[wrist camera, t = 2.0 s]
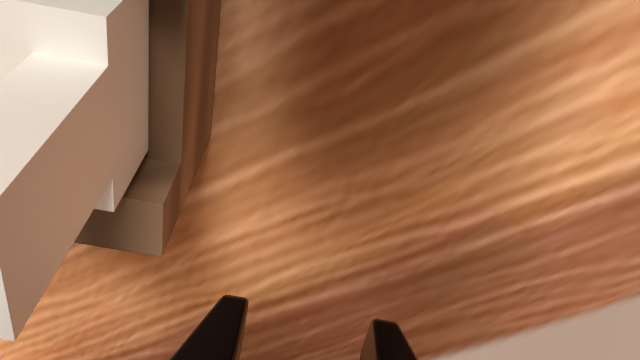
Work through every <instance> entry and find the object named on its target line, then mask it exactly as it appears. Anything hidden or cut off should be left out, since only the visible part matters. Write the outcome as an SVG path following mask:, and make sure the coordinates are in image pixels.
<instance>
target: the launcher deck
mask: <svg viewBox="0 0 640 360" xmlns="http://www.w3.org/2000/svg"><path fill="white" fill-rule="evenodd" d="M220 7H221V0H149V91H148V151H147V153H146V154H145V156H144V158H143V160H142V162H141V164H140V165H139V167H138V169H137V171H136V173H135V175H134V176H133V178H132V180H131V182H130V184H129V186H128V187H127V189H126V191H125V193H124V195H123V196H122V198H121V200H120V202H119V204H118V206H117V207H116V209H115V211H114V212H110V211H104V210H98V209H94V210H93V211H92V213H91V215H90V216H89V218H88V220H87V221H86V223H85V225H84V226H83V228H82V230H81V231H80V233H79V235H78V236H77V238H76V240H75V241H74V242H75V243H81V244H87V245H93V246H99V247H105V248H111V249H118V250H124V251H130V252H136V253H142V254H148V255H154V256H160V257H162V255H163V253H164V250H165V248H166V245H167V243H168V240H169V238H170V235H171V233H172V230H173V228H174V225H175V223H176V220H177V218H178V215H179V213H180V210H181V208H182V205H183V203H184V200H185V198H186V195H187V193H188V190H189V188H190V185H191V183H192V180H193V178H194V175H195V173H196V170H197V168H198V165H199V163H200V160H201V158H202V155H203V153H204V150H205V148H206V145H207V143H208V140H209V138H210V135H211V125H212V112H213V99H214V86H215V72H216V59H217V46H218V33H219V20H220Z"/></svg>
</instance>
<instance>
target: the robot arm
mask: <svg viewBox="0 0 640 360" xmlns="http://www.w3.org/2000/svg"><path fill="white" fill-rule="evenodd" d="M247 309H248V300H247V299H246V298H244V297H238V296H231V295H225V296H223V297H222V298H221V299H220V300H219V301H218V302H217V304H216V305H215V306H214V307H213V308H212V310H211V311H210V312H209V313H208V314H207V316H206V317H205V318H204V319H203V320H202V322H201V323H200V324H199V325H198V326H197V328H196V329H195V330H194V331H193V332H192V334H191V335H190V336H189V337H188V338H187V340H186V341H185V342H184V343H183V345H182V346H181V347H180V348H179V349H178V351H177V352H176V353H175V354H174V355H173V357H172V358H171V359H170V360H239V357H240V352H241V346H242V341H243V335H244V329H245V322H246V315H247ZM360 360H418V359H417V357H416V356H415V354H414V352H413V350H412V348H411V347H410V345H409V343H408V341H407V339H406V338H405V336H404V334H403V332H402V330H401V329H400V327H399V325H398V324H397V323H395V322H393V321H387V320H381V319H374V320H372V322H371V323H370V326H369V329H368V332H367V335H366V338H365V341H364V344H363V347H362V350H361V355H360Z"/></svg>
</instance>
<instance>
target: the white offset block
mask: <svg viewBox="0 0 640 360" xmlns="http://www.w3.org/2000/svg"><path fill="white" fill-rule="evenodd" d="M148 91H149V0H0V339H4V340H10V341H15V340H16V339H17V337H18V335H19V334H20V332H21V330H22V329H23V327H24V325H25V324H26V322H27V320H28V319H29V317H30V315H31V313H32V312H33V310H34V308H35V307H36V305H37V303H38V302H39V300H40V298H41V297H42V295H43V293H44V292H45V290H46V288H47V287H48V285H49V283H50V282H51V280H52V278H53V277H54V275H55V273H56V272H57V270H58V268H59V267H60V265H61V263H62V262H63V260H64V258H65V257H66V255H67V253H68V251H69V250H70V248H71V246H72V245H73V243H74V241H75V240H76V238H77V236H78V235H79V233H80V231H81V230H82V228H83V226H84V225H85V223H86V221H87V220H88V218H89V216H90V215H91V213H92V211H93V210H94V209H98V210H104V211H110V212H114V211H115V209H116V207H117V206H118V204H119V202H120V200H121V198H122V196H123V195H124V193H125V191H126V189H127V187H128V186H129V184H130V182H131V180H132V178H133V176H134V175H135V173H136V171H137V169H138V167H139V165H140V164H141V162H142V160H143V158H144V156H145V154H146V153H147V151H148Z"/></svg>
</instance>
